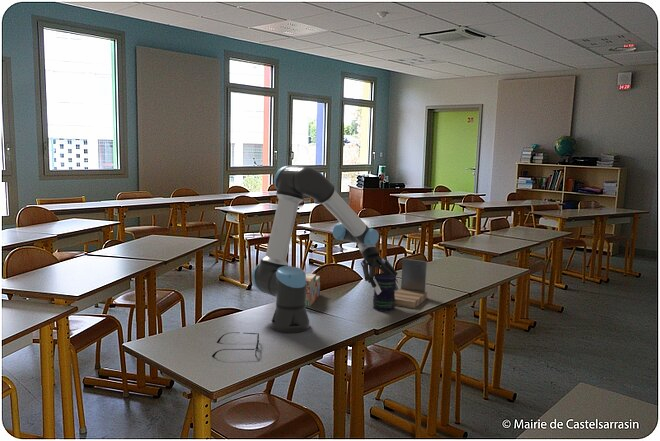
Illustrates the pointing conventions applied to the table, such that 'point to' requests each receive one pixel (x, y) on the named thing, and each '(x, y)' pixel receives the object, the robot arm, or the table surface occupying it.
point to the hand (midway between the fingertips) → (388, 291)
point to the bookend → (414, 275)
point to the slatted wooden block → (409, 298)
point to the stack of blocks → (312, 288)
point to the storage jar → (385, 292)
